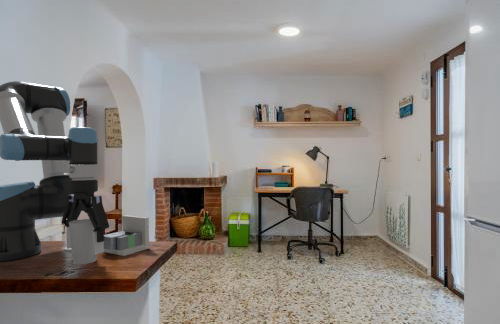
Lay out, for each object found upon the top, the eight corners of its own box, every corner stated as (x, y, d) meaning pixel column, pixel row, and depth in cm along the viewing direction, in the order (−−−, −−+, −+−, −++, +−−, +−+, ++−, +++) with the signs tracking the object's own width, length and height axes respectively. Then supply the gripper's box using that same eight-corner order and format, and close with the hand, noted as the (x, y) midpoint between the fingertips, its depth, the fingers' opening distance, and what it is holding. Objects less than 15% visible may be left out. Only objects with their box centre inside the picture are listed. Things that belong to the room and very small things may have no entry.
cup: (86, 266, 87) (86, 223, 87) (62, 264, 89) (62, 223, 89) (105, 257, 95) (104, 218, 95) (82, 256, 97) (82, 218, 97)
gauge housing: (100, 251, 103) (100, 219, 103) (126, 244, 111) (125, 215, 111) (123, 255, 97) (123, 222, 97) (149, 248, 105) (148, 217, 105)
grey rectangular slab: (101, 248, 99) (101, 233, 99) (123, 242, 106) (122, 228, 106) (116, 251, 95) (116, 235, 96) (137, 245, 102) (137, 230, 102)
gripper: (48, 179, 95) (49, 248, 95) (97, 180, 83) (98, 259, 82) (72, 178, 102) (73, 242, 101) (121, 178, 89) (122, 252, 89)
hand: (84, 250), depth 92 cm, fingers open, 13 cm apart
